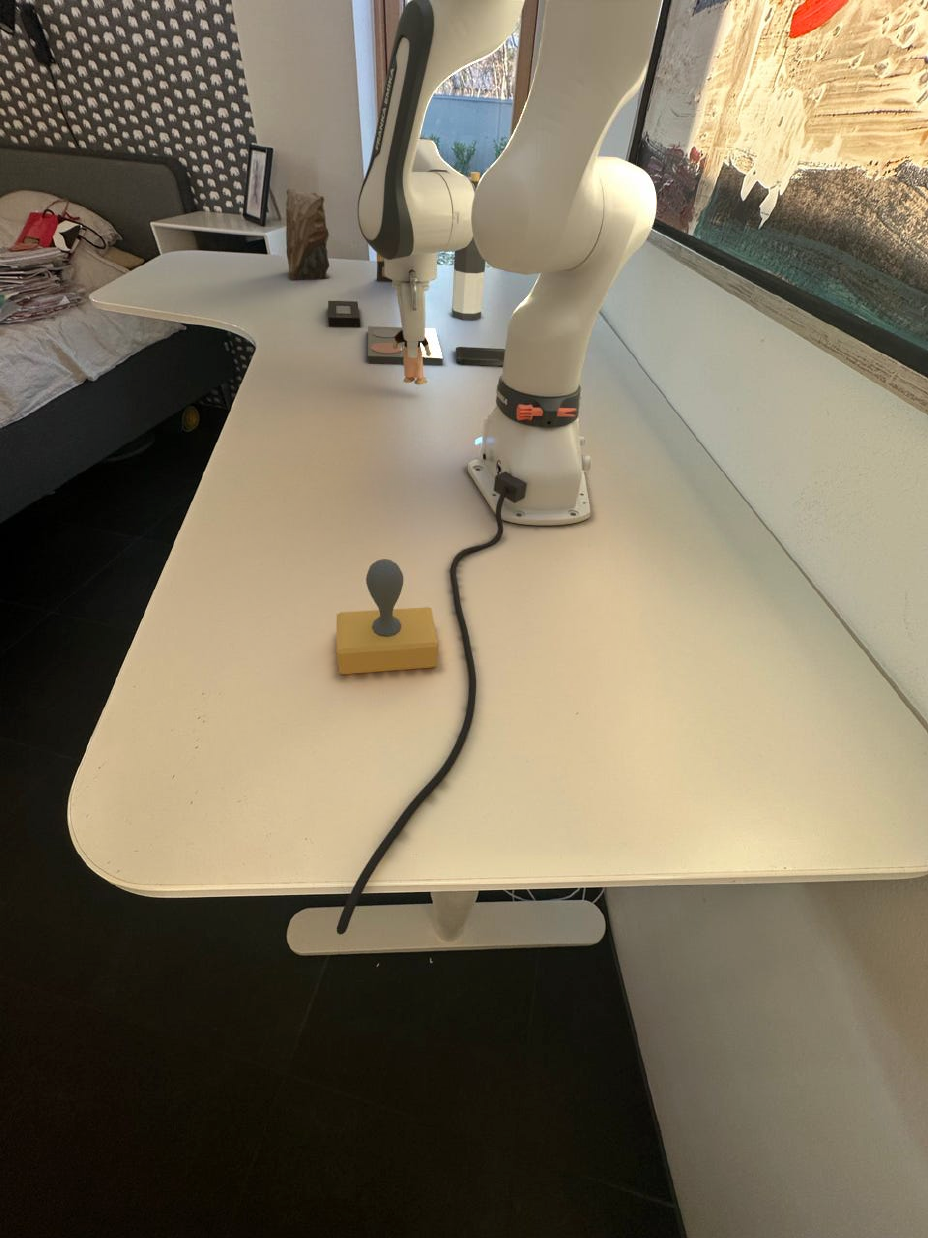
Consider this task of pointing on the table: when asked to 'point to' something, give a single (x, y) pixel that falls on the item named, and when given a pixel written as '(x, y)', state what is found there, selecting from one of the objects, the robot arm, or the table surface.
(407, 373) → the grandmother figurine
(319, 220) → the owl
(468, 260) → the wine bottle
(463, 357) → the phone
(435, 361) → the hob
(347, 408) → the table surface
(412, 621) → the rubber stamp
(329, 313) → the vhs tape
